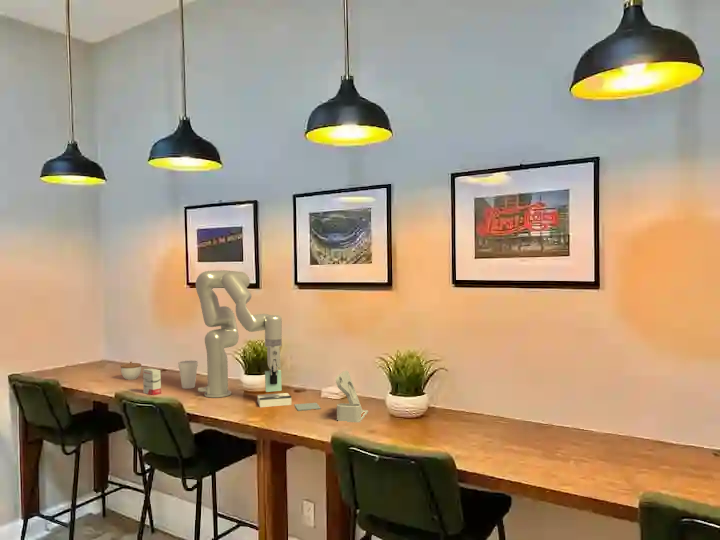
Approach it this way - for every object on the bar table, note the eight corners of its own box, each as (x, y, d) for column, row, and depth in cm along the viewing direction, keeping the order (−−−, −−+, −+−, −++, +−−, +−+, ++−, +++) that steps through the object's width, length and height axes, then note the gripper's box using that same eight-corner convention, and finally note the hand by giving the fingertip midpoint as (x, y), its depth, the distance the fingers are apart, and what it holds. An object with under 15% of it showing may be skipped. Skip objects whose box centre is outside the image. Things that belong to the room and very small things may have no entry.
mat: (297, 410, 258) (297, 409, 257) (294, 405, 267) (294, 404, 267) (320, 409, 260) (320, 407, 260) (316, 403, 270) (316, 402, 270)
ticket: (266, 392, 270) (265, 372, 270) (265, 390, 272) (264, 371, 272) (281, 390, 272) (281, 370, 271) (280, 389, 274) (280, 369, 274)
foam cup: (175, 388, 305) (174, 363, 305) (185, 384, 314) (185, 360, 314) (191, 389, 302) (191, 363, 302) (201, 385, 311) (201, 360, 311)
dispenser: (259, 407, 265) (259, 398, 265) (257, 401, 275) (257, 392, 275) (291, 404, 268) (291, 395, 268) (287, 399, 279) (287, 390, 279)
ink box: (161, 393, 294) (161, 369, 294) (152, 395, 290) (152, 371, 290) (151, 391, 300) (151, 367, 299) (142, 393, 296) (142, 369, 296)
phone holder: (359, 422, 238) (359, 377, 238) (335, 421, 240) (334, 376, 240) (368, 411, 255) (368, 369, 255) (345, 410, 257) (344, 369, 257)
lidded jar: (121, 377, 336) (121, 360, 336) (141, 376, 340) (141, 359, 339) (120, 381, 326) (119, 363, 326) (141, 379, 329) (140, 362, 329)
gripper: (283, 345, 265) (283, 386, 265) (279, 340, 280) (279, 379, 281) (266, 345, 263) (266, 387, 263) (262, 340, 278) (262, 380, 279)
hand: (273, 383), depth 272 cm, fingers closed on ticket, 2 cm apart
